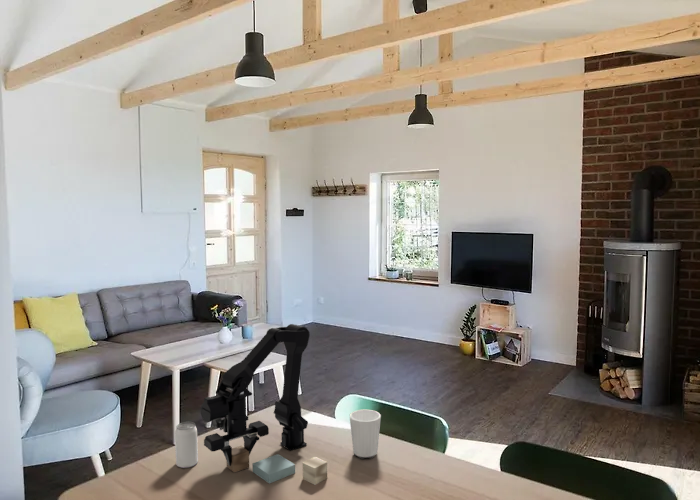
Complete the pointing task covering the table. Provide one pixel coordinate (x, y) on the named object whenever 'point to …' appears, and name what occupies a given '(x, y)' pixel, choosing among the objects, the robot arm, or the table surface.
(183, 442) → the can
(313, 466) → the beech cube
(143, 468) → the table surface
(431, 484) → the table surface
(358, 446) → the cup
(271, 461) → the base block
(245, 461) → the walnut cube
